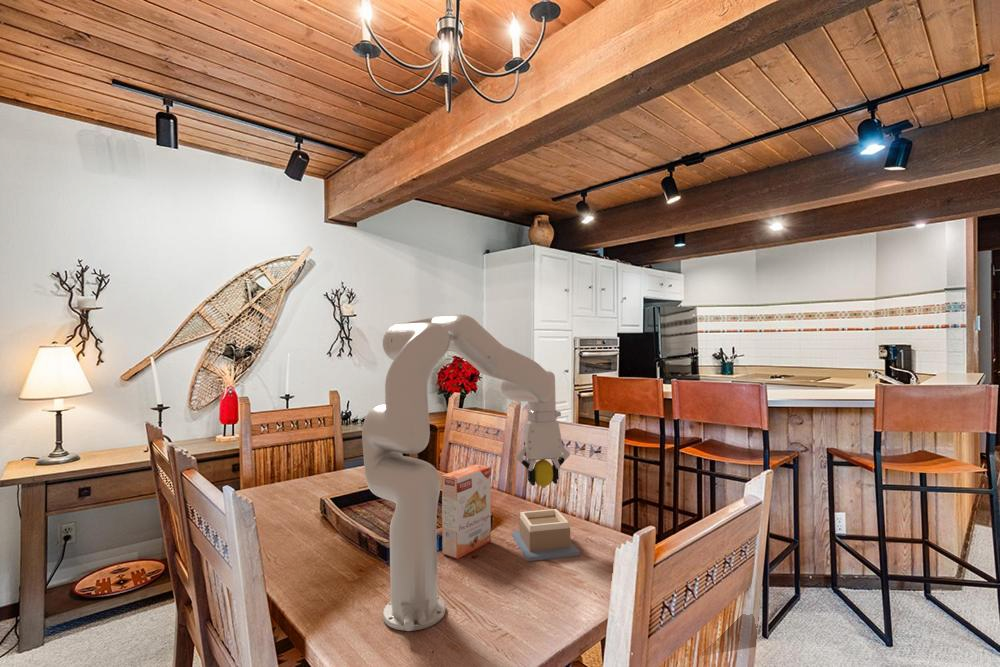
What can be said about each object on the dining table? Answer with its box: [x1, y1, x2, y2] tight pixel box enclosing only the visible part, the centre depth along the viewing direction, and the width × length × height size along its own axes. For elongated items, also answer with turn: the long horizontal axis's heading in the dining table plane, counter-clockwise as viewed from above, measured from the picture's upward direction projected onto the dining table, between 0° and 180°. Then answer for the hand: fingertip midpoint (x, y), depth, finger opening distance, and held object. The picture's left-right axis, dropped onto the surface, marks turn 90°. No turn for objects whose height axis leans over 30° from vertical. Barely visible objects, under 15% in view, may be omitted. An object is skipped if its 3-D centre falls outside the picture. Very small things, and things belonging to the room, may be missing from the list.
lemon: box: [533, 459, 553, 489], centre depth 134 cm, size 6×6×8 cm
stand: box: [511, 508, 581, 562], centre depth 134 cm, size 17×14×8 cm
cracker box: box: [441, 464, 492, 560], centre depth 133 cm, size 14×6×21 cm, turn 143°
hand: (543, 482), depth 134 cm, fingers closed on lemon, 5 cm apart
